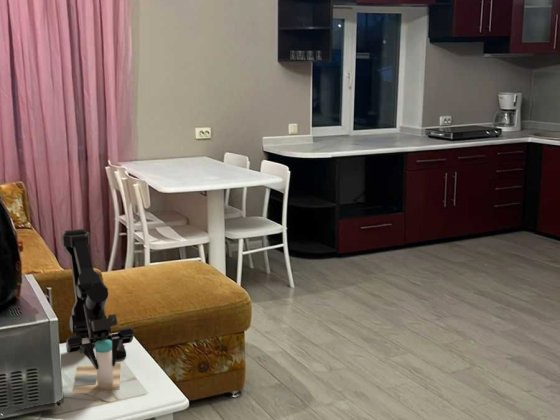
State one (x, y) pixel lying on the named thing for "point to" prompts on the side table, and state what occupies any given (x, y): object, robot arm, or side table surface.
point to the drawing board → (93, 379)
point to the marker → (104, 363)
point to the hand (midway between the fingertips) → (105, 367)
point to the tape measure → (121, 352)
